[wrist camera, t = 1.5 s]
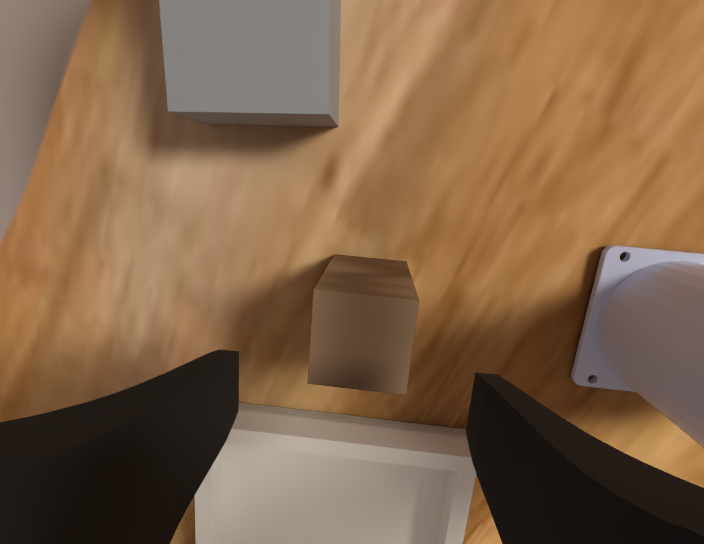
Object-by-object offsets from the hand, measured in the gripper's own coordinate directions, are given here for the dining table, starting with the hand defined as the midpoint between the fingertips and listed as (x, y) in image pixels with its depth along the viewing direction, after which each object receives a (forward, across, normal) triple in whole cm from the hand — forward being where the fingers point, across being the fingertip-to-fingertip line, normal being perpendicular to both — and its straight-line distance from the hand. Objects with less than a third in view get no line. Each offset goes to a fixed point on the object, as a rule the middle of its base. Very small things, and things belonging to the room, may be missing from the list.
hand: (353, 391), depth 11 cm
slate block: (+11, +6, -12) cm, 17 cm away
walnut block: (+10, 0, 0) cm, 11 cm away
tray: (+10, +1, +15) cm, 18 cm away
